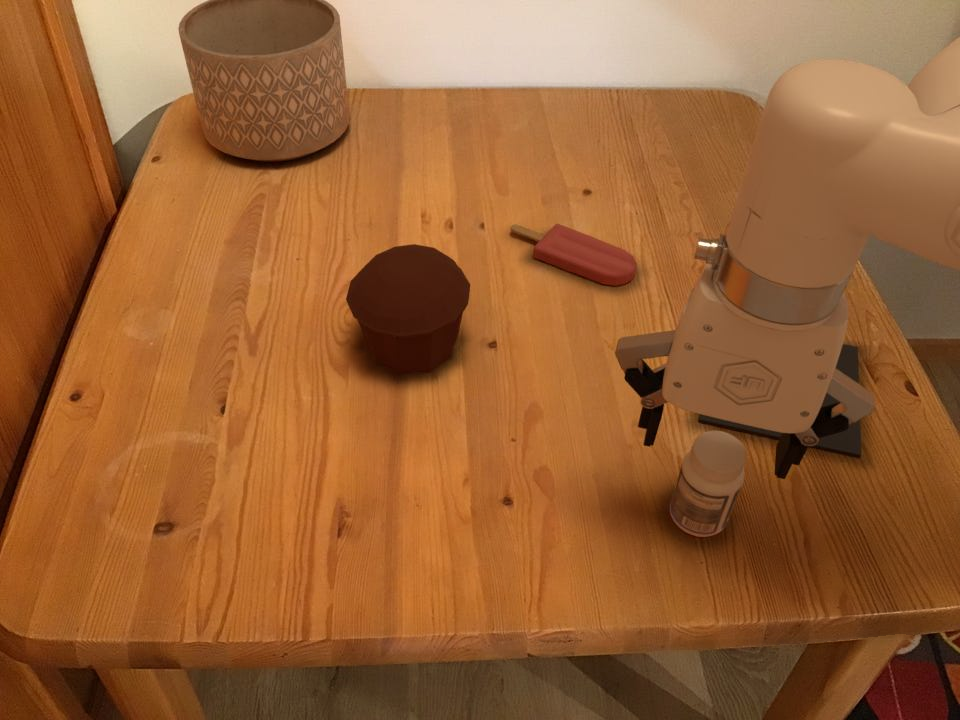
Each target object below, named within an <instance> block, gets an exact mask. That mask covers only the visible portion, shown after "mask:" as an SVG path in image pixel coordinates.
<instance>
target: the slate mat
mask: <svg viewBox="0 0 960 720" xmlns="http://www.w3.org/2000/svg"><path fill="white" fill-rule="evenodd" d="M858 349H859V348H858V346H855V345H849V344H845V343H843V345H842V349H841V352H840V355H839V358H838V362H837V365H836V367H835V368H836V369H838V370H839V371H841V372H842V373H843V374H845V375H846V376H848V377H849V378H851V379H852V380H854V381H855V382H857V383H858V384H860V378H859V375H860V374H859V350H858ZM834 403H841V402H839V401H838V400H836V399H835V398H833V397H832V396H830V395H829V394H827V393H826V395H825V398H824V400H823V403H822V406H821V407H825V406H828V405H831V404H834ZM697 422H698V423H701V424H706V425H711V426H714V427H721V428H723V429H724V428H725V429H728V430H732V431H737V432H743V433H747V434H751V435H756V436H760V437H761V436H762V437H764V438H765V437H766V438H769V439H774V440H778V441H779V439H780V437H781V435H782V432H776V431H771V430H766V429H762V428H758V427H753V426H749V425H744V424H740V423H735V422H731V421H727V420H723V419H719V418H714V417H710V416H706V415H702V414H698V421H697ZM861 432H862V431H861V420H859V421H857V422H855V423H854V422H853V423H851V424H849V427H848V429H847V430H846V431H843V432H840V433H836V434H833V435H829V436H826V437H822V438H819V442H818V444H816V445H815V446H808V448H809V447H810V448H815V449H819V450H823V451H829V452H833V453H838V454H841V455H845V456H849V457H854V458H859V459H860V458H861V457H862V435H861V434H862V433H861Z"/></svg>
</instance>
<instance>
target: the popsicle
mask: <svg viewBox="0 0 960 720" xmlns="http://www.w3.org/2000/svg"><path fill="white" fill-rule="evenodd" d="M509 230H510V231H511V232H512V233H514V234H517V235H519V236H521V237H524V238H527V239H530V240H532V241H535V242H537V243H536V244H535V245H534V247H533V251H532V257H533V258H534V259H537V260H538V261H542V262H544V263H546V264H549V265H552V266H554V267H557V268H559V269H562V270H564V271H567V272H569V273H572V274H575V275H578V276H580V277H582V278H586V279H588V280H591V281H594V282H595V283H596V282H597V283H599V284H602V285H605V286H606V285H607V286H613V287H616V286H622V285H625V284H627V283H629V282H631V281H632V280H633V278H634V277H635V274H636V269H637V261H636V259H635V257H634V255H633V254H632V253H630V252H628V251H627V250H625V249H624V248H621V247H619V246H616V245H614V244H611V243H609V242H606V241H604V240H601V239H599V238H596V237H593V236H591V235H588V234H586V233H584V232H581V231H578V230H576V229H573V228H571V227H568V226H565V225H562V224H560V223H555V224H554V225H553V226H552V227H551V228H550V229H549V231H547V233H546V234H542V233H540V232H538V231H534V230H532V229H529V228H527V227H524V226H521V225H519V224H512V225H511V226H510V228H509Z"/></svg>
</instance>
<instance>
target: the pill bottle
mask: <svg viewBox="0 0 960 720" xmlns="http://www.w3.org/2000/svg"><path fill="white" fill-rule="evenodd" d="M746 462H747V450H746V448H745V446H744V445H743V443H742V441H740V439H738V438H737V437H736V436H734V435H733V434H731V433H729V432H726V431H722V430H708V431H705V432H701V433H700V434H699V435H698V436H697V437H696V438H695V439H694V441H693V443H692V446H691V449H690V450H689V451H688V452H687V453H686V454H685V455H684V457H683V460H682V461H681V466H680V469H679V473H678V476H677V480H676V484H675V486H674V490H673V493H672V496H671V500H670V503H669V513H670V516H671V519H672V521H673V522H674V523H675V525H676V526H677V527H678V528H679V529H680V530H682V531H683V532H684V533H687V534H689V535H691V536H695V537H699V538H708V537H712V536H716V535H718V534H719V533H720V532H722V531H723V530H724V529H725V527H726V526H727V524H728V523H729V520H730V517H731V514H732V512H733V509H734V506H735V504H736V502H737V499H738V496H739V494H740V491H741V489H742V486H743V484H744V482H745V469H744V467H745V465H746Z"/></svg>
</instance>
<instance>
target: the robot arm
mask: <svg viewBox="0 0 960 720" xmlns="http://www.w3.org/2000/svg"><path fill="white" fill-rule="evenodd" d="M752 142H753V143H752V146H751V149H750V153H749V155H748V159H747V162H746V166H745V169H744V171H743V175H742V178H741V182H740V185H739V189H738V191H737V195H736V199H735V202H734V204H733V208H732V210H731V211H732V212H731V215H730V218H729V221H728V223H727V224H726V226H725V229H724V233H723V234H722V233H720V234H719V235H718V238H715V237H711V239H710V238H704V237H698V240H697V243H696V247H695V251H694V257H693V259H695V260H700V261H705V264H706V265H705V266H704V268H703V270H702V272H701V273H700V275H699V277H698V278H697V280H696V282H695V284H694V286H693V288H692V290H691V292H690V293H689V295H688V298H687V300H686V303H685V305H684V307H683V310H682V312H681V315H680V317H679V320H678V321H677V322H678V323H677V325H676V328H675V329H673V330H666V331H658V332H652V333H651V332H650V333H644V334H637V335H636V334H635V335H630V336H622V337H619V338H618V340H617V343H616V347H615V351H614V355H615V357H616V360H617V362H618V364H619V367H620V368H621V370H622V372H623V374H624V378H623V379H624V381H625V382H626V383H627V384H628V386H630V387H631V389H632V390H634V392H635V393H636V394H637V395H638V396H639V398H640V405H641V406H642V407H641V410H640V415H639V420H638V424H637V428H639V429H644V430H645V435H644V439H643V444H642V445H643V446H645V447H652V446H654V445H655V441H656V438H657V435H658V431H659V428H660V424H661V420H662V417H663V413H664V408H665V404H670V405H672V406H674V407H675V408H678V409H680V410H683V411H687V412H691V413H694V414H698V415H699V414H702V415H706V416H710V417H714V418H719V419H723V420H727V421H731V422H735V423H740V424H744V425H749V426H753V427H758V428H762V429H766V430H771V431H776V432H782V435H781V437H780V439H779V440H778V441H777V444H776V447H775V457H774V459H775V460H774V476H776V478H777V479H780V480H785V479H786V478H787V475H788V474H789V472H790V470H791V468H792V466H793V465H794V466H800V464H801V463H802V460H803V458H804V456H805V455H806V452H807V450H808V449H809V446H815V445H816V444H818V442H819V438H822V437H826V436H829V435H833V434H836V433H840V432H843V431H846V430H847V429H848V427H849V424H851V423H853V422H854V423H855V422H857V421H859V420H860V421H861V420H862V419H864V418H866V417H868V416H869V415H870V414H872V413H874V412H875V395H874V393H872V391H870V390H868V389H867V388H866V387H864V386H863V385H861V384H860V383H859V384H858V383H857V382H855V381H854V380H852V379H851V378H849V377H848V376H846V375H845V374H843V373H842V372H841V371H839V370H838V369H836V368H835V367H836V365H837V362H838V358H839V355H840V352H841V349H842V345H843V344H844V340H845V337H846V334H847V328H848V324H849V323H848V322H849V317H850V316H849V315H850V309H849V305H848V299H847V295H846V293H845V291H846V289H847V287H848V284H849V282H850V280H851V278H852V275H853V273H854V271H855V268H856V266H857V264H858V262H859V260H860V258H861V255H862V253H863V251H864V249H865V246H866V245H867V242H868V240H869V238H870V237H872V238H874V239H876V240H879V241H882V242H884V243H886V244H889V245H890V246H891V245H892V246H894V247H896V248H899V249H901V250H903V251H906V252H908V253H911V254H914V255H916V256H918V257H921V258H923V259H925V260H928V261H931V262H933V263H936V264H938V265H942V266H945V267H948V268H951V269H955V270H959V271H960V36H959V37H957V38H955V40H953V41H952V42H951V43H949V44H948V45H946V46H944V48H943V49H942V50H940V51H939V52H937V53H936V54H935V55H934V56H933V57H931V59H929V60H928V61H927V62H926V64H924V65H923V66H922V68H920V70H919V71H918V72H917V73H916V74H915V75H914V76H913V78H912V79H911V81H910V82H909V83H908V85H906V83H905V82H903V81H902V80H901V79H899V78H898V77H897V76H895V75H893V74H892V73H890V72H888V71H886V70H884V69H881V68H879V67H876V66H874V65H871V64H867V63H863V62H859V61H854V60H848V59H841V58H819V59H812V60H807V61H804V62H801V63H799V64H796V65H794V66H792V67H790V68H789V69H787V70H785V71H784V72H783V73H782V74H781V75H779V77H778V78H777V80H775V82H774V83H773V85H772V87H771V89H770V91H769V92H768V95H767V98H766V100H765V104H764V106H763V109H762V113H761V116H760V119H759V122H758V126H757V129H756V133H755V136H754V140H753V141H752ZM662 357H667V359H666V363H664V364H661V365H660V366H658V367H656V368H653V369H652V368H651V367H650V366H649V365H648V364H647V363H646V361H645V360H646V359H654V358H662ZM826 393H827V394H829V395H830V396H832V397H833V398H835V399H836V400H838V401H839V402H841V403H834V404H831V405H828V406H825V407H821V406H822V403H823V400H824V398H825V395H826Z"/></svg>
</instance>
